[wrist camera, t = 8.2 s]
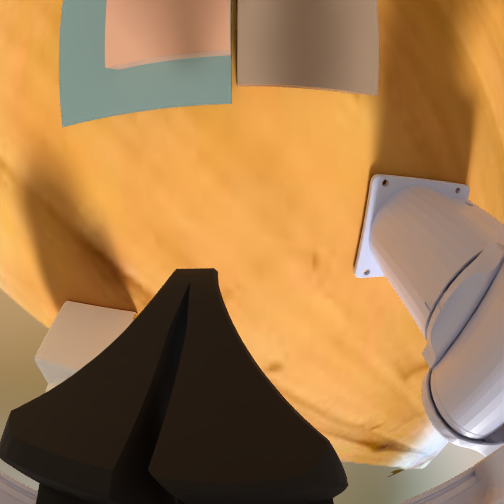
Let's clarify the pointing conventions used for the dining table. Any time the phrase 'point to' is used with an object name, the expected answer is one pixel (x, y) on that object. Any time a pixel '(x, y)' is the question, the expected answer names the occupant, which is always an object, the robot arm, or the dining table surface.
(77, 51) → the teal rectangular slab
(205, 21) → the terracotta tile
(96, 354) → the medicine bottle
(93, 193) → the dining table surface
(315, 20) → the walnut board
